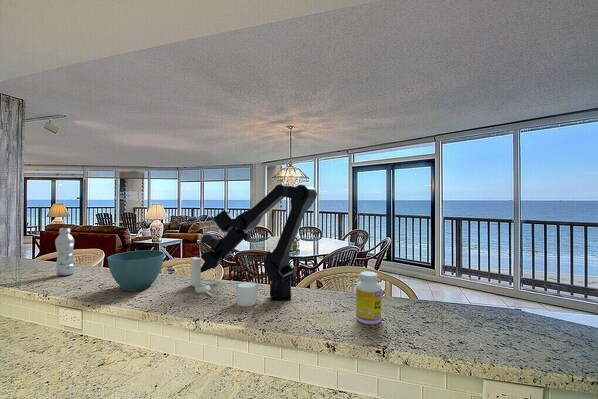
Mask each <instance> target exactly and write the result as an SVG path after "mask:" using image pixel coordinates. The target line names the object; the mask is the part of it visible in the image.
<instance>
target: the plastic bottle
mask: <svg viewBox="0 0 598 399" xmlns="http://www.w3.org/2000/svg"><path fill="white" fill-rule="evenodd" d="M58 230H59V232H58V233H59V235H58V236H57V237H56V238H55V240H54V244H55V249H56V255H57V256H56V257H57V258H56V265H55V273H56V275H57V276H61V277H62V276H69V275H73V274H74V273H75V271H76V265H75V262H74V261H75V260H74V246H75V238H74V237H73V235H72V234H70V233H71V228H70V227H61V228H59V229H58Z"/></svg>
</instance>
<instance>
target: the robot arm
mask: <svg viewBox="0 0 598 399" xmlns="http://www.w3.org/2000/svg"><path fill="white" fill-rule="evenodd" d="M317 196H318V193H317V190H316V188H315V187H314V186H312V185H310V184H298V185H296V186H292V185H287V184H277V185H275V186H274V188H273V189H272V190H271V191H270V192H269V193H268V194H266V195H265V196H264V197H263V198H262V199H261V200H260V201H259V202H258V203H257V204H255V205H254V206H253V207H252V208H249V209H247V210H246V211H243V212H242V213H240V214H239V215H237V216H236V217H234V215H233V214H232V213H231V211H229V209H223V210H222V211H221V212H219V213H217V214H216V215H215V216H214V217H213V223H215V225H216V226H217V228H219V230H220V231H221V232H222V233H226V234H225V235H224V236H223V237H218V236H216V235H214V234H211V233H209V232H206V233H203V235H202V236H201V237H200V243H201V244H204V245H206V246H209V247H210V250H206V251H204V252H203V253H202V254H201V255H200V259H202V260H203V261H204V262H203V264H202V265H201V274H202V273H203V272H206V271H208V270H211V269H212V270H215V269H216V268H217V267H218V266H220V264H221V263H222V261H223V260H226V259H227V258H228V257H230V255H231V253H232V252H233V251H234V250H235V249H236V248H237V247H238V245H240V243H241V242H242V241H247V242H250V241H251V233H249V232H246V231H251V230H254V229H255V228H256V227H258V225H259V224H260V223H261V221H262V218H263V217H264V216H265V214H267V213H268V212H269V211H270V210H272V209H273V208H274V207H275V206H276V205H277V204H279V202H281V201H282V200H283V199H284V198H288V199H290V211H289V213H288V216H287V217H286V218H287V219H286V221H285V224H284V226H283V229H282V232H281V235H280V236H279V239H278V241H277V244H276V247H274V248H273V249H270V250H267V253H266V256H265V259H264V260H263V262H264V264H263V268H264V270H265V273H266V276H267V278H268V281H269V282H270V283H269V296H270V297H269V298H270V301H292V278H293V277H294V276H295V272H296V271H295V269H294V268H293V267H292V265H290V260H291V257H290V256H291V254H290V252H291V248H292V246H293V243H294V242H295V241H294V240H295V238H296V236H297V233H298V231H299V229H300V226H301V223H302V221H303V218H304V216H305V214H306V212H307V211H308V210H309V209H311V207H312V205H313V204H314V202H315V201H316V199H317Z"/></svg>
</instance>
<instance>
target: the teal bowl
mask: <svg viewBox="0 0 598 399" xmlns="http://www.w3.org/2000/svg"><path fill="white" fill-rule="evenodd" d="M164 258H165V252H164V251H162V250H157V249H155V250H151V249H150V250H149V249H148V250H147V249H146V250H145V249H144V250H133V251H126V252H121V253H116V254H112V255H110V256H107V265H108V268H109V271H110V273H111V276H112V278H113V279H114V281H115V282H116V283H117V284H118V285H119V287H121V288H122V289H123V290H124V291H126V292H138V291H144V290H146V289H149V288H150V287H151V286H152V285H153V284H154V282H155V280H157V278H158V276H159V274H160V272H161V271H162V267H163V264H164Z"/></svg>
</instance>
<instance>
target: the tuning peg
mask: <svg viewBox="0 0 598 399" xmlns="http://www.w3.org/2000/svg"><path fill="white" fill-rule="evenodd" d="M201 259H202V258H201V257H198V256H193V257H190V286H192V287H193V288H195V293H196V294H207V295H209V296H210V297H211V298H212V297H214V293H213V294H212V293H211V290H212V289H211V288H212V287H211V285H209V284H202V282H201V281H202V276H201V275H202V273H201V267H202V265H201V264H202V262H201V261H202V260H201Z"/></svg>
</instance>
